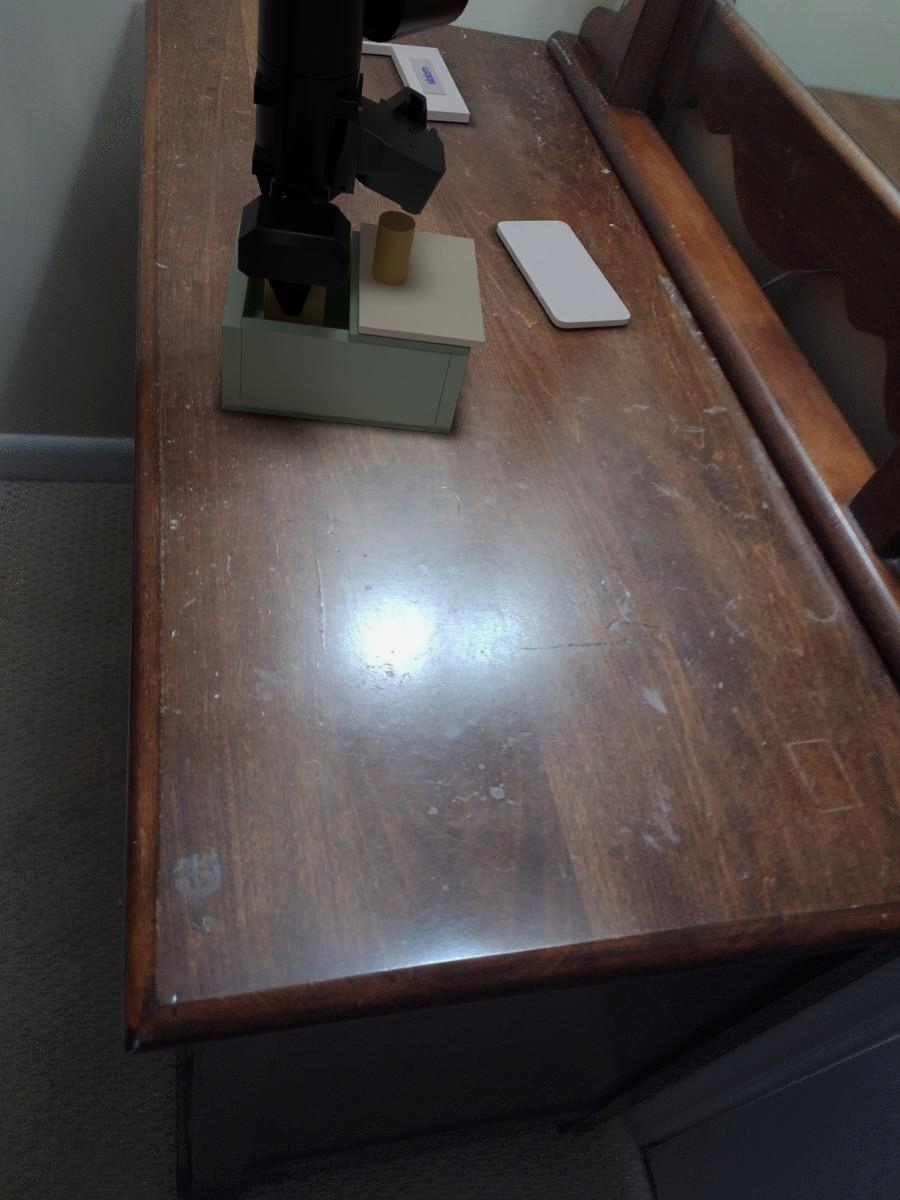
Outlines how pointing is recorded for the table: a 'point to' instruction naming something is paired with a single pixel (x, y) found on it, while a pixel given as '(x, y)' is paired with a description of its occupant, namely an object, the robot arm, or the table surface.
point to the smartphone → (562, 274)
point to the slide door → (418, 284)
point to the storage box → (333, 363)
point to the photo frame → (425, 78)
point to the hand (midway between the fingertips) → (294, 295)
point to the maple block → (310, 312)
